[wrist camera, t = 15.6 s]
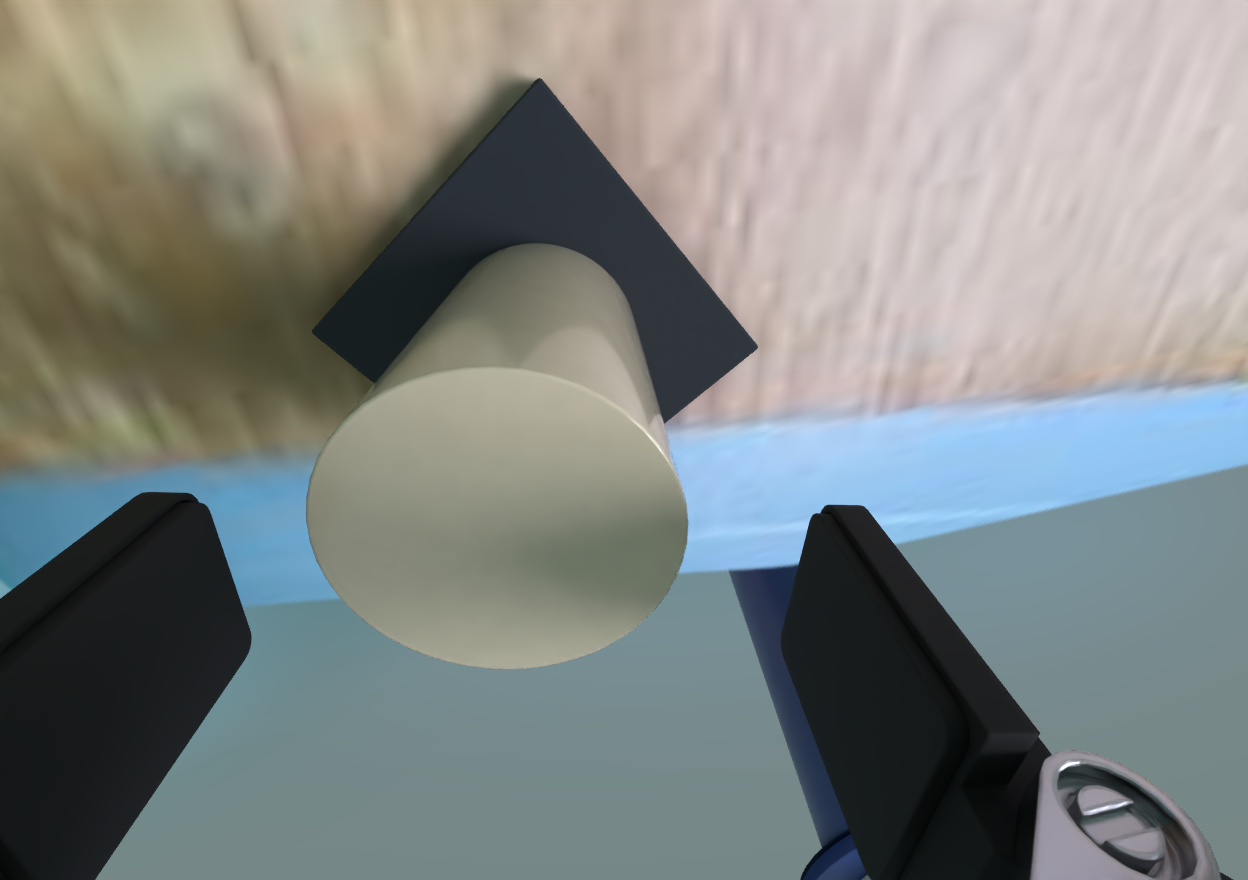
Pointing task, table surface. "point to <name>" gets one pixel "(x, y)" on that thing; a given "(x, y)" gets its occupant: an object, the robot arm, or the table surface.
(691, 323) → the rubber mat
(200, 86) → the table surface
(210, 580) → the robot arm
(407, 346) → the cream cylinder canister
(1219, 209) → the table surface
